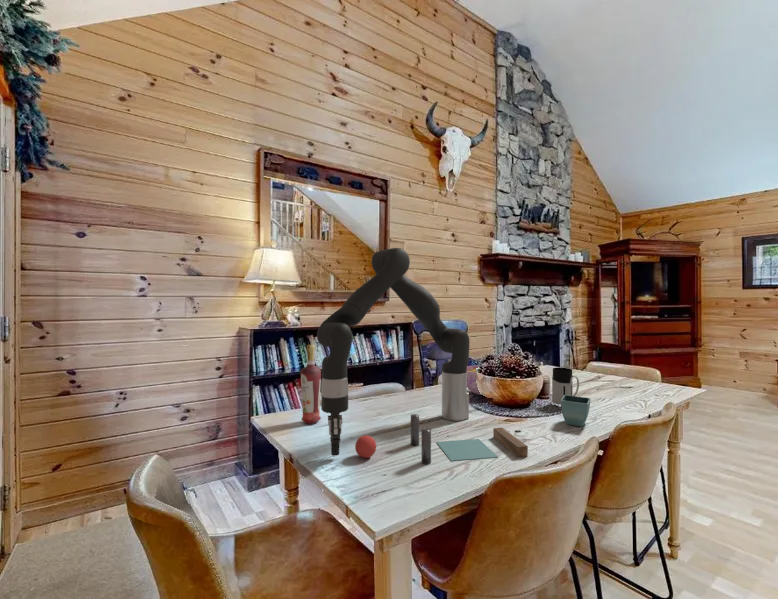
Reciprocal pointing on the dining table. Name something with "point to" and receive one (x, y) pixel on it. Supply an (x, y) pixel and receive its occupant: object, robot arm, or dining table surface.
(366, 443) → the ball
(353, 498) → the dining table surface
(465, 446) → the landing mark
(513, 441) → the wall
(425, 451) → the post near
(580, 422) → the flower pot
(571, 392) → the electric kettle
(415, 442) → the post far
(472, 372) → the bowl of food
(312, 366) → the red condiment bottle
